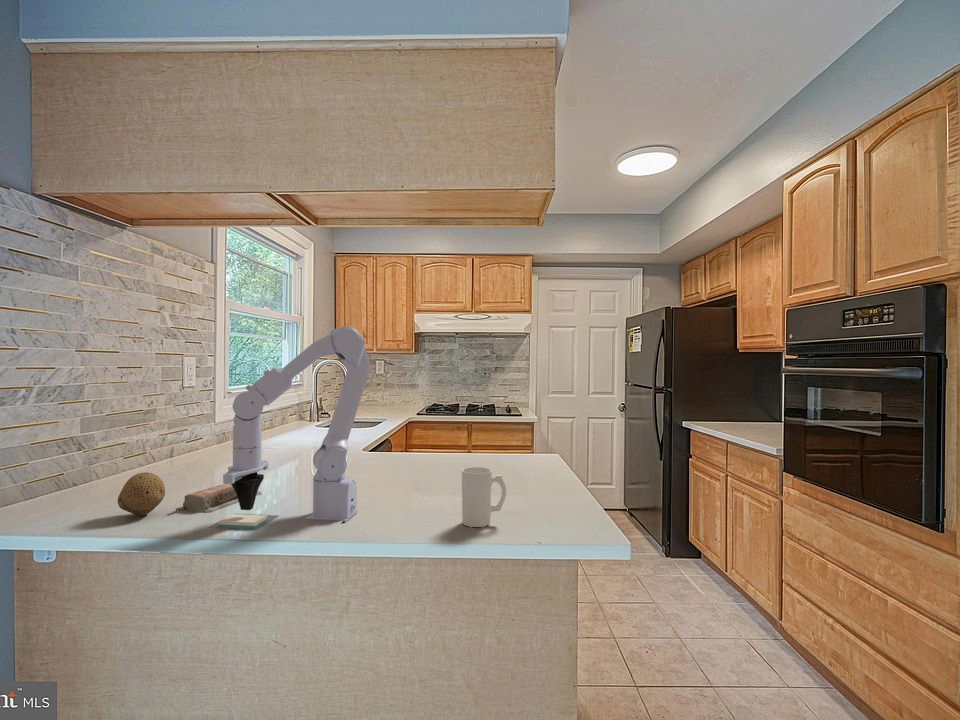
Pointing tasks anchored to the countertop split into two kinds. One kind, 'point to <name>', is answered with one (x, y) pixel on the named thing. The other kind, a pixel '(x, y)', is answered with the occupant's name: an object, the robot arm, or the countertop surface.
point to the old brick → (211, 499)
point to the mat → (269, 519)
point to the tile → (243, 521)
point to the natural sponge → (141, 494)
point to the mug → (479, 496)
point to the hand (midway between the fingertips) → (246, 509)
